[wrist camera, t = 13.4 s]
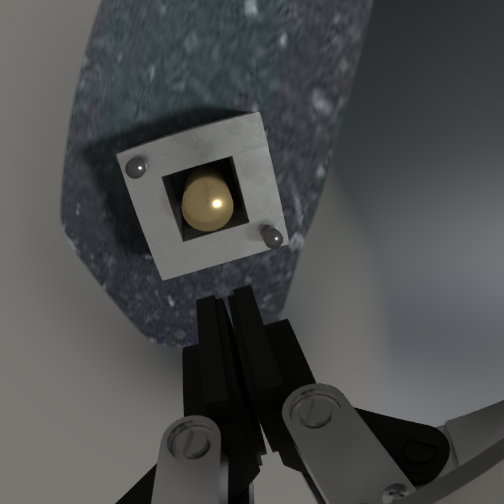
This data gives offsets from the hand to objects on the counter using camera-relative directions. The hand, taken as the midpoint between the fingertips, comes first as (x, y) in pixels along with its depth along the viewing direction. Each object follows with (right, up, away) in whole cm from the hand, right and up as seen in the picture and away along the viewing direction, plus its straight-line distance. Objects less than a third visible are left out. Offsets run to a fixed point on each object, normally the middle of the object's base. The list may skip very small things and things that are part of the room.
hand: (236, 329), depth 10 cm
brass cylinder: (-4, +9, +21) cm, 23 cm away
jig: (-4, +9, +21) cm, 23 cm away
